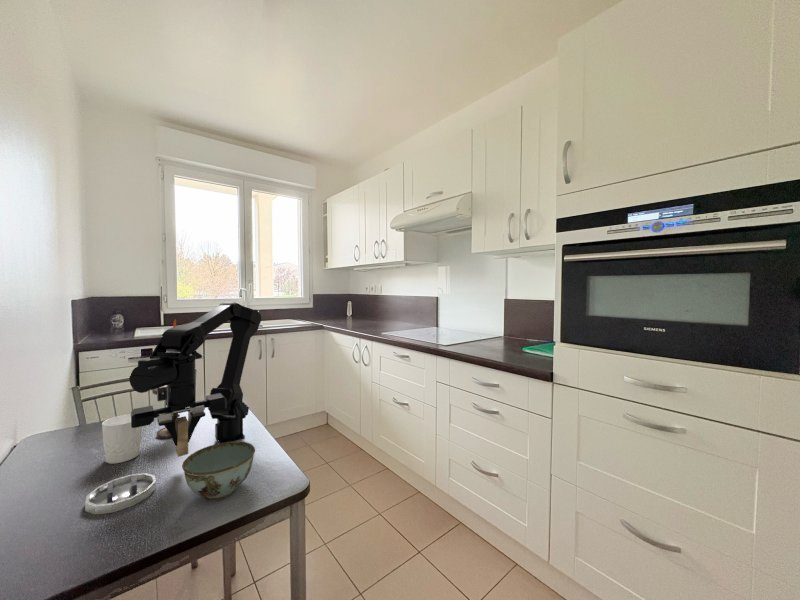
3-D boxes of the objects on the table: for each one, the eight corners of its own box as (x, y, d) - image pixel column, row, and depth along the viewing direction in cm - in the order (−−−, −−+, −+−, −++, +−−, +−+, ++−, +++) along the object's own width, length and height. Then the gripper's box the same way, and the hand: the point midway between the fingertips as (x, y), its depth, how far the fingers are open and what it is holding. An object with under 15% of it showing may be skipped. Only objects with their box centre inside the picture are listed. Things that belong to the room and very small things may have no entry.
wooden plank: (185, 447, 79) (185, 416, 78) (188, 454, 76) (187, 421, 75) (175, 450, 77) (175, 418, 77) (178, 456, 74) (177, 423, 74)
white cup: (118, 466, 78) (118, 426, 77) (94, 463, 79) (93, 424, 79) (150, 451, 85) (149, 414, 85) (126, 448, 87) (126, 412, 87)
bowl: (203, 523, 59) (202, 480, 58) (170, 498, 66) (169, 460, 66) (268, 485, 70) (267, 450, 70) (233, 467, 77) (233, 435, 77)
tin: (153, 474, 74) (153, 464, 74) (157, 497, 66) (157, 485, 66) (88, 494, 67) (88, 482, 67) (83, 522, 59) (83, 509, 59)
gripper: (217, 368, 88) (217, 423, 89) (130, 380, 76) (131, 443, 76) (227, 376, 80) (227, 436, 80) (131, 390, 68) (131, 462, 68)
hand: (181, 443), depth 76 cm, fingers closed on wooden plank, 2 cm apart
